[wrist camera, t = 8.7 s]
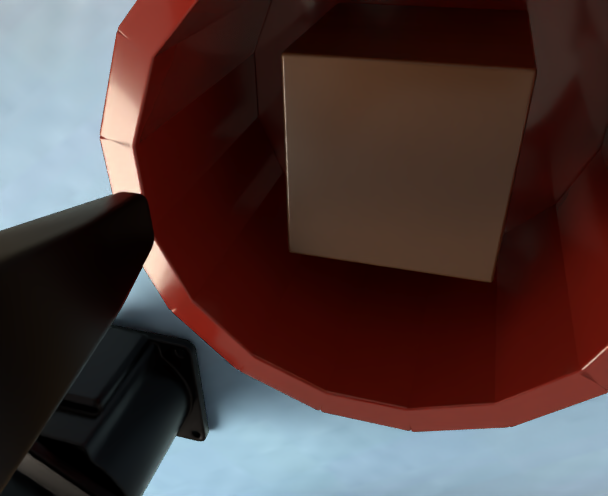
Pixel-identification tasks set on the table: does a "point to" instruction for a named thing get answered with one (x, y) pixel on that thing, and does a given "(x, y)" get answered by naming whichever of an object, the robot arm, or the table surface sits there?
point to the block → (406, 135)
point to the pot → (350, 275)
